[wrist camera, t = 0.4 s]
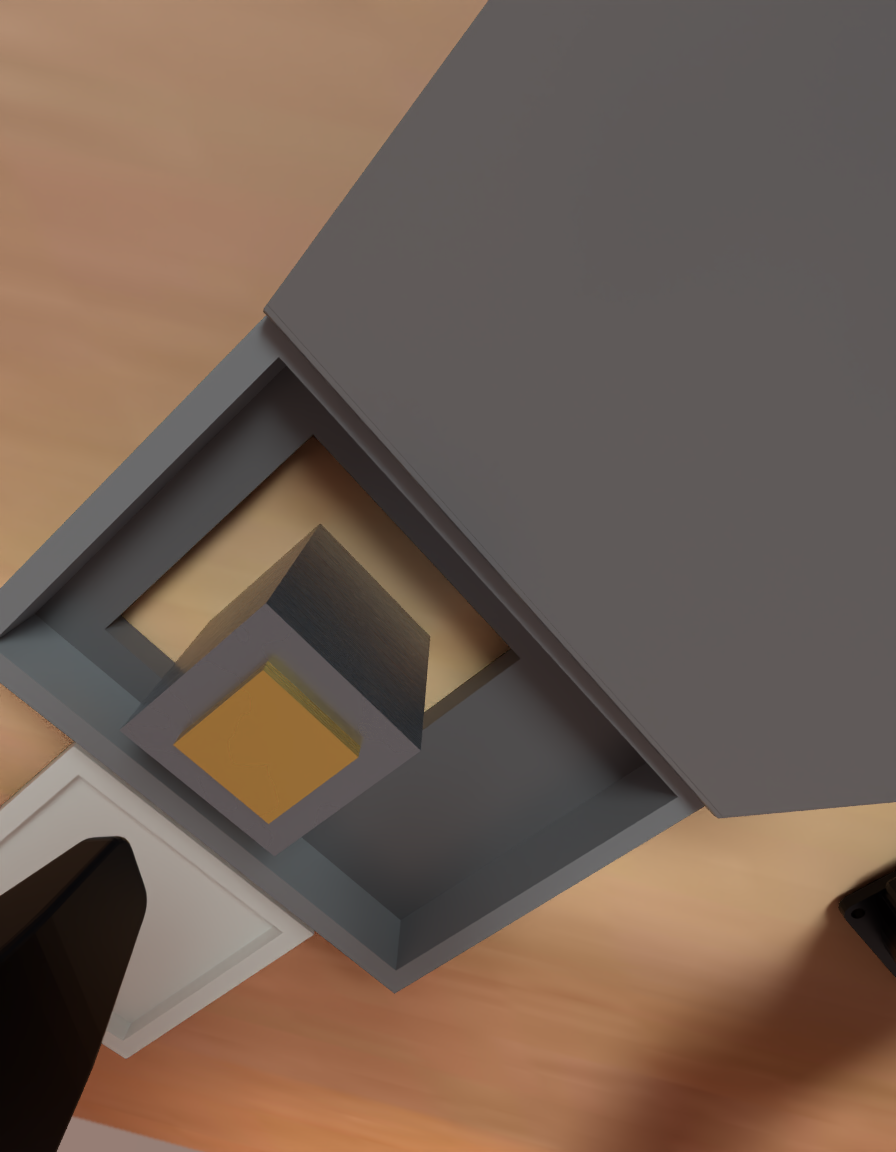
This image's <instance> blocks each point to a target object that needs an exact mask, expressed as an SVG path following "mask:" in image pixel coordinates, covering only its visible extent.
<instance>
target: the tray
mask: <svg viewBox="0 0 896 1152" xmlns="http://www.w3.org/2000/svg"><path fill="white" fill-rule="evenodd" d="M107 836H121V837H124V838H125V839H127V840H128V841H129V843H130V845H131V847H132V850H133V853H134V856H135V859H136V862H137V865H138V868H139V871H140V874H141V877H142V880H143V883H144V886H145V889H146V893H147V907H146V912H145V916H144V919H143V922H142V925H141V928H140V931H139V934H138V937H137V940H136V943H135V946H134V949H133V952H132V955H131V958H130V961H129V964H128V967H127V970H126V973H125V976H124V979H123V982H122V985H121V988H120V991H119V994H118V996H117V999H116V1002H115V1005H114V1008H113V1011H112V1014H111V1017H110V1020H109V1023H108V1026H107V1029H106V1032H105V1035H104V1038H103V1041H102V1044H103V1045H105V1046H106V1047H108V1048H110V1049H111V1050H113V1051H114V1052H116V1053H117V1054H119V1055H120V1056H122V1057H124V1058H125V1059H127V1058H129V1057H130V1056H132V1055H133V1054H135V1053H136V1052H138V1051H139V1050H141V1049H142V1048H144V1047H145V1046H147V1045H148V1044H150V1043H151V1042H153V1041H154V1040H156V1039H157V1038H159V1037H160V1036H162V1035H163V1034H165V1033H166V1032H168V1031H169V1030H171V1029H172V1028H174V1027H175V1026H177V1025H178V1024H180V1023H181V1022H183V1021H184V1020H186V1019H187V1018H189V1017H190V1016H192V1015H193V1014H195V1013H196V1012H198V1011H199V1010H201V1009H202V1008H204V1007H205V1006H207V1005H208V1004H210V1003H211V1002H213V1001H214V1000H216V999H217V998H219V997H220V996H222V995H224V994H225V993H227V992H228V991H230V990H231V989H233V988H234V987H236V986H237V985H239V984H240V983H242V982H243V981H245V980H246V979H248V978H249V977H251V976H252V975H254V974H255V973H257V972H258V971H260V970H261V969H263V968H264V967H266V966H267V965H269V964H270V963H272V962H273V961H275V960H276V959H278V958H279V957H281V956H282V955H284V954H285V953H287V952H288V951H290V950H291V949H293V948H294V947H296V946H297V945H299V944H300V943H302V942H303V941H305V940H306V939H308V938H309V937H311V936H312V935H314V931H315V930H313V929H312V928H311V927H309V926H308V925H307V924H306V923H304V922H303V921H302V920H301V919H299V918H298V917H297V916H295V915H294V914H293V913H292V912H290V911H289V910H288V909H287V908H285V907H284V906H283V905H282V904H280V903H279V902H278V901H276V900H275V899H274V898H273V897H271V896H270V895H269V894H268V893H266V892H265V891H264V890H262V889H261V888H260V887H259V886H257V885H256V884H255V883H254V882H252V881H251V880H250V879H249V878H247V877H246V876H245V875H243V874H242V873H241V872H240V871H238V870H237V869H236V868H235V867H233V866H232V865H231V864H230V863H228V862H227V861H226V860H224V859H223V858H222V857H221V856H219V855H218V854H217V853H216V852H214V851H213V850H212V849H210V848H209V847H208V846H207V845H205V844H204V843H203V842H202V841H200V840H199V839H198V838H197V837H195V836H194V835H193V834H191V833H190V832H189V831H188V830H186V829H185V828H184V827H183V826H181V825H180V824H179V823H177V822H176V821H175V820H174V819H172V818H171V817H170V816H169V815H167V814H166V813H165V812H164V811H162V810H161V809H160V808H158V807H157V806H156V805H155V804H153V803H152V802H151V801H150V800H148V799H147V798H146V797H145V796H143V795H142V794H141V793H139V792H138V791H137V790H136V789H134V788H133V787H132V786H131V785H129V784H128V783H127V782H125V781H124V780H123V779H122V778H120V777H119V776H118V775H117V774H115V773H114V772H113V771H112V770H110V769H109V768H108V767H106V766H105V765H104V764H103V763H101V762H100V761H99V760H98V759H96V758H95V757H94V756H92V755H91V754H90V753H89V752H87V751H86V750H85V749H84V748H82V747H81V746H80V745H79V744H77V743H76V742H75V741H74V742H73V743H72V744H71V745H69V746H68V747H67V748H66V749H65V750H64V751H63V752H61V753H60V754H59V755H58V756H57V757H56V758H55V759H54V760H52V761H51V762H50V763H49V764H48V765H47V766H46V767H45V768H43V769H42V770H41V771H40V772H39V773H38V774H37V775H35V776H34V777H33V778H32V779H31V780H30V781H29V782H28V783H26V784H25V785H24V786H23V787H22V788H21V789H20V790H19V791H17V792H16V793H15V794H14V795H13V796H12V797H11V798H9V799H8V800H7V801H6V802H5V803H4V804H3V805H2V806H0V895H2V894H3V893H5V892H6V891H8V890H9V889H11V888H12V887H14V886H15V885H17V884H18V883H20V882H21V881H23V880H24V879H26V878H27V877H29V876H30V875H32V874H33V873H35V872H36V871H38V870H39V869H41V868H42V867H43V866H45V865H46V864H48V863H49V862H51V861H52V860H54V859H55V858H57V857H58V856H60V855H61V854H63V853H64V852H66V851H67V850H69V849H70V848H72V847H73V846H75V845H76V844H78V843H79V842H81V841H83V840H85V839H87V838H92V837H107Z"/></svg>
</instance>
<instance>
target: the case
mask: <svg viewBox="0 0 896 1152" xmlns="http://www.w3.org/2000/svg"><path fill="white" fill-rule="evenodd" d="M263 312H264V313H265V314H266V316H265V317H264V318H263V319H262V320H261V321H260V322H259V323H258V324H257V325H256V326H255V327H254V328H253V329H252V330H251V331H250V332H249V333H248V334H247V335H246V337H245V338H244V339H243V340H242V341H241V342H240V343H239V344H238V345H237V346H236V347H235V348H234V349H233V350H232V351H231V352H230V353H229V354H228V355H227V356H226V357H225V358H224V359H223V360H222V361H221V362H220V363H219V364H218V365H217V366H216V367H215V368H214V369H213V370H212V371H211V372H210V374H209V375H208V376H207V377H206V378H205V379H204V380H203V381H202V382H201V383H200V384H199V385H198V386H197V387H196V388H195V389H194V390H193V391H192V392H191V393H190V394H189V395H188V396H187V397H186V398H185V399H184V400H183V401H182V402H181V403H180V404H179V405H178V406H177V407H176V408H175V409H174V410H173V412H172V413H171V414H170V415H169V416H168V417H167V418H166V419H165V420H164V421H163V422H162V423H161V424H160V425H159V426H158V427H157V428H156V429H155V430H154V431H153V432H152V433H151V434H150V435H149V436H148V437H147V438H146V439H145V440H144V441H143V442H142V443H141V444H140V445H139V446H138V447H137V449H136V450H135V451H134V452H133V453H132V454H131V455H130V456H129V457H128V458H127V459H126V460H125V461H124V462H123V463H122V464H121V465H120V466H119V467H118V468H117V469H116V470H115V471H114V472H113V473H112V474H111V475H110V476H109V477H108V478H107V479H106V480H105V481H104V482H103V483H102V484H101V486H100V487H99V488H98V489H97V490H96V491H95V492H94V493H93V494H92V495H91V496H90V497H89V498H88V499H87V500H86V501H85V502H84V503H83V504H82V505H81V506H80V507H79V508H78V509H77V510H76V511H75V512H74V513H73V514H72V515H71V516H70V517H69V518H68V519H67V520H66V521H65V522H64V524H63V525H62V526H61V527H60V528H59V529H58V530H57V531H56V532H55V533H54V534H53V535H52V536H51V537H50V538H49V539H48V540H47V541H46V542H45V543H44V544H43V545H42V546H41V547H40V548H39V549H38V550H37V551H36V552H35V553H34V554H33V555H32V556H31V557H30V558H29V559H28V561H27V562H26V563H25V564H24V565H23V566H22V567H21V568H20V569H19V570H18V571H17V572H16V573H15V574H14V575H13V576H12V577H11V578H10V579H9V580H8V581H7V582H6V583H5V584H4V585H3V586H2V587H1V588H0V683H1V684H2V685H4V686H5V687H6V688H8V689H9V690H10V691H11V692H13V693H14V694H15V695H16V696H18V697H19V698H20V699H21V700H23V701H24V702H25V703H27V704H28V705H29V706H30V707H32V708H33V709H34V710H35V711H37V712H38V713H39V714H40V715H42V716H43V717H44V718H46V719H47V720H48V721H49V722H51V723H52V724H53V725H54V726H56V727H57V728H58V729H60V730H61V731H62V732H63V733H65V734H66V735H67V736H68V737H70V738H71V739H72V740H73V741H75V742H76V743H77V744H79V745H80V746H81V747H82V748H84V749H85V750H86V751H87V752H89V753H90V754H91V755H92V756H94V757H95V758H96V759H98V760H99V761H100V762H101V763H103V764H104V765H105V766H106V767H108V768H109V769H110V770H112V771H113V772H114V773H115V774H117V775H118V776H119V777H120V778H122V779H123V780H124V781H125V782H127V783H128V784H129V785H131V786H132V787H133V788H134V789H136V790H137V791H138V792H139V793H141V794H142V795H143V796H145V797H146V798H147V799H148V800H150V801H151V802H152V803H153V804H155V805H156V806H157V807H158V808H160V809H161V810H162V811H164V812H165V813H166V814H167V815H169V816H170V817H171V818H172V819H174V820H175V821H176V822H177V823H179V824H180V825H181V826H183V827H184V828H185V829H186V830H188V831H189V832H190V833H191V834H193V835H194V836H195V837H197V838H198V839H199V840H200V841H202V842H203V843H204V844H205V845H207V846H208V847H209V848H210V849H212V850H213V851H214V852H216V853H217V854H218V855H219V856H221V857H222V858H223V859H224V860H226V861H227V862H228V863H230V864H231V865H232V866H233V867H235V868H236V869H237V870H238V871H240V872H241V873H242V874H243V875H245V876H246V877H247V878H249V879H250V880H251V881H252V882H254V883H255V884H256V885H257V886H259V887H260V888H261V889H262V890H264V891H265V892H266V893H268V894H269V895H270V896H271V897H273V898H274V899H275V900H276V901H278V902H279V903H280V904H282V905H283V906H284V907H285V908H287V909H288V910H289V911H290V912H292V913H293V914H294V915H295V916H297V917H298V918H299V919H301V920H302V921H303V922H304V923H306V924H307V925H308V926H309V927H311V928H312V929H313V930H315V931H316V932H317V933H318V934H320V935H321V936H322V937H323V938H325V939H326V940H327V941H328V942H330V943H331V944H332V945H334V946H335V947H336V948H337V949H339V950H340V951H341V952H342V953H344V954H345V955H346V956H347V957H349V958H350V959H351V960H353V961H354V962H355V963H356V964H358V965H359V966H360V967H361V968H363V969H364V970H365V971H367V972H368V973H369V974H370V975H372V976H373V977H374V978H375V979H377V980H378V981H379V982H380V983H382V984H383V985H384V986H386V987H387V988H388V989H389V990H391V991H392V992H393V993H394V994H395V993H396V992H398V991H400V990H401V989H403V988H405V987H406V986H408V985H410V984H411V983H413V982H415V981H416V980H418V979H419V978H421V977H423V976H424V975H426V974H428V973H429V972H431V971H433V970H434V969H436V968H438V967H439V966H441V965H443V964H444V963H446V962H448V961H449V960H451V959H453V958H454V957H456V956H458V955H459V954H461V953H462V952H464V951H466V950H467V949H469V948H471V947H472V946H474V945H476V944H477V943H479V942H481V941H482V940H484V939H486V938H487V937H489V936H491V935H492V934H494V933H496V932H497V931H499V930H501V929H502V928H504V927H505V926H507V925H509V924H510V923H512V922H514V921H515V920H517V919H519V918H520V917H522V916H524V915H525V914H527V913H529V912H530V911H532V910H534V909H535V908H537V907H539V906H540V905H542V904H544V903H545V902H547V901H548V900H550V899H552V898H553V897H555V896H557V895H558V894H560V893H562V892H563V891H565V890H567V889H568V888H570V887H572V886H573V885H575V884H577V883H578V882H580V881H582V880H583V879H585V878H587V877H588V876H590V875H591V874H593V873H595V872H596V871H598V870H600V869H601V868H603V867H605V866H606V865H608V864H610V863H611V862H613V861H615V860H616V859H618V858H620V857H621V856H623V855H625V854H626V853H628V852H630V851H631V850H633V849H634V848H636V847H638V846H639V845H641V844H643V843H644V842H646V841H648V840H649V839H651V838H653V837H654V836H656V835H658V834H659V833H661V832H663V831H664V830H666V829H668V828H669V827H671V826H673V825H674V824H676V823H677V822H679V821H681V820H682V819H684V818H686V817H687V816H689V815H691V814H692V813H694V812H696V811H697V810H699V809H701V808H702V807H704V806H706V807H707V809H708V810H709V811H710V812H711V813H712V814H713V815H714V816H716V817H717V818H728V817H738V816H749V815H760V814H771V813H782V812H793V811H804V810H814V809H825V808H836V807H847V806H858V805H869V804H880V803H890V802H896V0H489V1H488V2H487V3H486V5H485V6H484V7H483V9H482V10H481V12H480V13H479V14H478V16H477V17H476V18H475V20H474V21H473V23H472V24H471V25H470V27H469V28H468V29H467V31H466V32H465V33H464V35H463V36H462V38H461V39H460V40H459V42H458V43H457V44H456V46H455V47H454V49H453V50H452V51H451V53H450V54H449V55H448V57H447V58H446V60H445V61H444V62H443V64H442V65H441V66H440V68H439V69H438V71H437V72H436V73H435V75H434V76H433V77H432V79H431V80H430V81H429V83H428V84H427V86H426V87H425V88H424V90H423V91H422V92H421V94H420V95H419V97H418V98H417V99H416V101H415V102H414V103H413V105H412V106H411V108H410V109H409V110H408V112H407V113H406V114H405V116H404V117H403V119H402V120H401V121H400V123H399V124H398V125H397V127H396V128H395V129H394V131H393V132H392V134H391V135H390V136H389V138H388V139H387V140H386V142H385V143H384V145H383V146H382V147H381V149H380V150H379V151H378V153H377V154H376V156H375V157H374V158H373V160H372V161H371V162H370V164H369V165H368V167H367V168H366V169H365V171H364V172H363V173H362V175H361V176H360V177H359V179H358V180H357V182H356V183H355V184H354V186H353V187H352V188H351V190H350V191H349V193H348V194H347V195H346V197H345V198H344V199H343V201H342V202H341V204H340V205H339V206H338V208H337V209H336V210H335V212H334V213H333V215H332V216H331V217H330V219H329V220H328V221H327V223H326V224H325V225H324V227H323V228H322V230H321V231H320V232H319V234H318V235H317V236H316V238H315V239H314V241H313V242H312V243H311V245H310V246H309V247H308V249H307V250H306V252H305V253H304V254H303V256H302V257H301V258H300V260H299V261H298V263H297V264H296V265H295V267H294V268H293V269H292V271H291V272H290V273H289V275H288V276H287V278H286V279H285V280H284V282H283V283H282V284H281V286H280V287H279V289H278V290H277V291H276V293H275V294H274V295H273V297H272V298H271V300H270V301H269V302H268V304H267V305H266V306H265V308H264V311H263ZM313 435H314V436H315V437H316V438H317V439H318V440H319V442H320V443H321V444H322V445H323V446H324V447H325V448H326V449H327V450H328V451H329V452H330V453H331V454H332V456H333V457H334V458H335V459H336V460H337V461H338V462H339V463H340V464H341V465H342V466H343V467H344V469H345V470H346V471H347V472H348V473H349V474H350V475H351V476H352V477H353V478H354V479H355V480H356V481H357V483H358V484H359V485H360V486H361V487H362V488H363V489H364V490H365V491H366V492H367V493H368V494H369V495H370V497H371V498H372V499H373V500H374V501H375V502H376V503H377V504H378V505H379V506H380V507H381V508H382V510H383V511H384V512H385V513H386V514H387V515H388V516H389V517H390V518H391V519H392V520H393V521H394V522H395V524H396V525H397V526H398V527H399V528H400V529H401V530H402V531H403V532H404V533H405V534H406V535H407V536H408V538H409V539H410V540H411V541H412V542H413V543H414V544H415V545H416V546H417V547H418V548H419V549H420V551H421V552H422V553H423V554H424V555H425V556H426V557H427V558H428V559H429V560H430V561H431V562H432V563H433V565H434V566H435V567H436V568H437V569H438V570H439V571H440V572H441V573H442V574H443V575H444V576H445V577H446V579H447V580H448V581H449V582H450V583H451V584H452V585H453V586H454V587H455V588H456V589H457V590H458V592H459V593H460V594H461V595H462V596H463V597H464V598H465V599H466V600H467V601H468V602H469V603H470V604H471V606H472V607H473V608H474V609H475V610H476V611H477V612H478V613H479V614H480V615H481V616H482V617H483V618H484V620H485V621H486V622H487V623H488V624H489V625H490V626H491V627H492V628H493V629H494V630H495V631H496V632H497V634H498V635H499V636H500V637H501V638H502V639H503V640H504V641H505V642H506V643H507V644H508V645H509V647H510V648H511V649H510V650H508V651H507V652H506V653H504V654H503V655H502V656H500V657H499V658H498V659H496V660H495V661H494V662H492V663H491V664H490V665H488V666H487V667H485V668H484V669H483V670H481V671H480V672H479V673H477V674H476V675H475V676H473V677H472V678H471V679H469V680H468V681H467V682H465V683H464V684H463V685H461V686H460V687H458V688H457V689H456V690H454V691H453V692H452V693H450V694H449V695H448V696H446V697H445V698H444V699H442V700H441V701H440V702H438V703H437V704H435V705H434V706H433V707H431V708H430V709H429V710H427V711H426V712H425V713H424V718H423V730H422V742H421V751H420V752H418V753H417V754H416V755H414V756H413V757H411V758H410V759H409V760H407V761H406V762H405V763H403V764H402V765H400V766H399V767H398V768H396V769H395V770H393V771H392V772H391V773H389V774H388V775H387V776H385V777H384V778H382V779H381V780H380V781H378V782H377V783H375V784H374V785H373V786H371V787H370V788H369V789H367V790H366V791H364V792H363V793H362V794H360V795H359V796H357V797H356V798H355V799H353V800H352V801H351V802H349V803H348V804H346V805H345V806H344V807H342V808H341V809H339V810H338V811H337V812H335V813H334V814H333V815H331V816H330V817H328V818H327V819H326V820H324V821H323V822H322V823H320V824H319V825H317V826H316V827H315V828H313V829H312V830H310V831H309V832H308V833H306V834H305V835H304V836H302V837H301V838H299V839H298V840H297V841H295V842H294V843H292V844H291V845H290V846H288V847H287V848H286V849H284V850H283V851H281V852H280V853H279V854H277V855H276V856H273V855H272V854H271V853H270V852H268V851H267V850H266V849H265V848H263V847H262V846H261V845H260V844H258V843H257V842H256V841H255V840H254V839H252V838H251V837H250V836H249V835H247V834H246V833H245V832H244V831H242V830H241V829H240V828H239V827H238V826H236V825H235V824H234V823H233V822H231V821H230V820H229V819H228V818H226V817H225V816H224V815H223V814H222V813H220V812H219V811H218V810H217V809H215V808H214V807H213V806H212V805H210V804H209V803H208V802H207V801H206V800H204V799H203V798H202V797H201V796H199V795H198V794H197V793H196V792H194V791H193V790H192V789H191V788H190V787H188V786H187V785H186V784H185V783H183V782H182V781H181V780H180V779H179V778H177V777H176V776H175V775H174V774H172V773H171V772H170V771H169V770H167V769H166V768H165V767H164V766H163V765H161V764H160V763H159V762H158V761H156V760H155V759H154V758H153V757H151V756H150V755H149V754H148V753H147V752H145V751H144V750H143V749H142V748H140V747H139V746H138V745H137V744H135V743H134V742H133V741H132V740H131V739H129V738H128V737H127V736H126V735H124V734H123V733H122V732H121V731H119V730H120V729H121V728H122V727H123V725H124V724H125V723H126V722H127V721H128V719H129V718H130V717H131V716H132V715H133V713H134V712H135V711H136V710H137V708H138V707H139V706H140V705H141V704H142V702H143V701H144V700H145V699H146V698H147V696H148V695H149V694H150V693H151V692H152V690H153V689H154V688H155V687H156V686H157V684H158V683H159V682H160V681H161V680H162V678H163V677H164V676H165V675H166V673H167V672H168V671H169V670H170V669H171V667H172V666H173V665H174V664H175V663H174V662H173V661H172V660H171V659H170V658H169V657H167V656H166V655H165V654H164V653H163V652H162V651H161V650H159V649H158V648H157V647H156V646H155V645H154V644H152V643H151V642H150V641H149V640H148V639H147V638H146V637H144V636H143V635H142V634H141V633H140V632H139V631H138V630H136V629H135V628H134V627H133V626H132V625H131V624H130V623H128V622H127V621H126V620H125V619H124V618H123V617H122V616H120V615H121V614H122V613H124V612H125V611H126V610H127V609H128V608H129V607H130V606H131V605H132V604H133V603H134V602H135V601H136V600H137V599H139V598H140V597H141V596H142V595H143V594H144V593H145V592H146V591H147V590H148V589H149V588H150V587H151V586H152V585H153V584H155V583H156V582H157V581H158V580H159V579H160V578H161V577H162V576H163V575H164V574H165V573H166V572H167V571H168V570H170V569H171V568H172V567H173V566H174V565H175V564H176V563H177V562H178V561H179V560H180V559H181V558H182V557H183V556H184V555H186V554H187V553H188V552H189V551H190V550H191V549H192V548H193V547H194V546H195V545H196V544H197V543H198V542H199V541H200V540H202V539H203V538H204V537H205V536H206V535H207V534H208V533H209V532H210V531H211V530H212V529H213V528H214V527H215V526H217V525H218V524H219V523H220V522H221V521H222V520H223V519H224V518H225V517H226V516H227V515H228V514H229V513H230V512H231V511H233V510H234V509H235V508H236V507H237V506H238V505H239V504H240V503H241V502H242V501H243V500H244V499H245V498H246V497H248V496H249V495H250V494H251V493H252V492H253V491H254V490H255V489H256V488H257V487H258V486H259V485H260V484H261V483H262V482H264V481H265V480H266V479H267V478H268V477H269V476H270V475H271V474H272V473H273V472H274V471H275V470H276V469H277V468H278V467H280V466H281V465H282V464H283V463H284V462H285V461H286V460H287V459H288V458H289V457H290V456H291V455H292V454H293V453H295V452H296V451H297V450H298V449H299V448H300V447H301V446H302V445H303V444H304V443H305V442H306V441H307V440H308V439H309V438H311V437H312V436H313Z"/></svg>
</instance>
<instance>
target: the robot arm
mask: <svg viewBox="0 0 896 1152" xmlns="http://www.w3.org/2000/svg"><path fill="white" fill-rule="evenodd" d="M146 907H147V893H146V889H145V886H144V883H143V880H142V877H141V874H140V871H139V868H138V865H137V862H136V859H135V856H134V853H133V850H132V847H131V845H130V843H129V841H128V840H127V839H125V838H124V837H121V836H107V837H92V838H87V839H85V840H83V841H81V842H79V843H78V844H76V845H75V846H73V847H72V848H70V849H69V850H67V851H66V852H64V853H63V854H61V855H60V856H58V857H57V858H55V859H54V860H52V861H51V862H49V863H48V864H46V865H45V866H43V867H42V868H41V869H39V870H38V871H36V872H35V873H33V874H32V875H30V876H29V877H27V878H26V879H24V880H23V881H21V882H20V883H18V884H17V885H15V886H14V887H12V888H11V889H9V890H8V891H6V892H5V893H3V894H2V895H0V1152H57V1149H58V1147H59V1145H60V1142H61V1140H62V1138H63V1136H64V1133H65V1131H66V1129H67V1126H68V1124H69V1122H70V1120H71V1117H72V1115H73V1113H74V1110H75V1108H76V1106H77V1104H78V1101H79V1099H80V1097H81V1094H82V1092H83V1090H84V1087H85V1085H86V1082H87V1080H88V1078H89V1075H90V1073H91V1070H92V1068H93V1065H94V1063H95V1060H96V1057H97V1054H98V1052H99V1049H100V1046H101V1044H102V1041H103V1038H104V1035H105V1032H106V1029H107V1026H108V1023H109V1020H110V1017H111V1014H112V1011H113V1008H114V1005H115V1002H116V999H117V996H118V994H119V991H120V988H121V985H122V982H123V979H124V976H125V973H126V970H127V967H128V964H129V961H130V958H131V955H132V952H133V949H134V946H135V943H136V940H137V937H138V934H139V931H140V928H141V925H142V922H143V919H144V916H145V912H146ZM838 908H839V910H840V912H841V913H842V915H843V916H844V918H845V919H846V921H847V922H848V923H849V924H850V925H851V926H852V928H853V929H854V930H855V931H856V932H857V933H858V935H859V936H860V937H861V938H862V939H863V940H864V941H865V943H866V944H867V945H868V946H869V947H870V948H871V950H872V951H873V952H874V953H875V954H876V955H877V956H878V958H879V959H880V960H881V961H882V962H883V963H884V965H885V966H886V967H887V968H888V969H889V970H890V972H891V973H892V974H893V975H894V976H895V977H896V871H894V872H892V873H890V874H888V875H886V876H884V877H882V878H880V879H879V880H877V881H875V882H873V883H871V884H869V885H867V886H865V887H863V888H862V889H860V890H858V891H856V892H854V893H852V894H850V895H848V896H846V897H845V898H843V899H842V900H841V901H840V903H839V907H838Z"/></svg>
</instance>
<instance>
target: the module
mask: <svg viewBox="0 0 896 1152" xmlns="http://www.w3.org/2000/svg"><path fill="white" fill-rule="evenodd" d="M429 645H430V636H429V635H428V634H427V633H426V632H425V631H424V630H423V629H422V628H421V627H420V626H419V625H418V624H417V623H416V621H415V620H414V619H413V618H412V617H411V616H410V615H409V614H408V613H407V612H406V611H405V610H404V609H403V608H402V607H401V606H400V605H399V604H398V603H397V602H396V601H395V600H394V599H393V598H392V597H391V596H390V595H389V594H388V593H387V592H386V591H385V590H384V588H383V587H382V586H381V585H380V584H379V583H378V582H377V581H376V580H375V579H374V578H373V577H372V576H371V575H370V574H369V573H368V572H367V571H366V570H365V569H364V568H363V567H362V566H361V565H360V564H359V563H358V562H357V561H356V560H355V559H354V558H353V557H352V556H351V554H350V553H349V552H348V551H347V550H346V549H345V548H344V547H343V546H342V545H341V544H340V543H339V542H338V541H337V540H336V539H335V538H334V537H333V536H332V535H331V534H330V533H329V532H328V531H327V530H326V529H325V528H324V527H323V526H322V525H321V524H319V525H318V526H317V527H316V528H315V529H313V530H312V531H311V532H310V533H309V534H308V535H307V536H306V537H304V538H303V539H302V540H301V541H300V542H299V543H298V544H296V545H295V546H294V547H293V548H292V549H291V550H290V551H289V552H287V553H286V554H285V555H284V556H283V557H282V558H281V559H280V560H278V561H277V562H276V563H275V564H274V565H273V566H272V567H271V568H269V569H268V570H267V571H266V572H265V573H264V574H263V575H261V576H260V577H259V578H258V579H257V580H256V581H255V582H254V583H252V584H251V585H250V586H249V587H248V588H247V589H246V590H245V591H243V592H242V593H241V594H240V595H239V596H238V597H237V598H235V599H234V600H233V601H232V602H231V603H230V604H229V605H228V606H226V607H225V608H224V609H223V610H222V611H221V612H220V613H219V614H217V615H216V616H215V617H214V618H213V619H212V620H211V621H210V622H209V623H208V624H207V625H206V626H205V628H204V629H203V630H202V631H201V632H200V634H199V635H198V636H197V637H196V639H195V640H194V641H193V642H192V643H191V645H190V646H189V647H188V648H187V649H186V651H185V652H184V653H183V654H182V655H181V657H180V658H179V659H178V660H177V661H176V663H175V664H174V665H173V666H172V667H171V669H170V670H169V671H168V672H167V673H166V675H165V676H164V677H163V678H162V680H161V681H160V682H159V683H158V684H157V686H156V687H155V688H154V689H153V690H152V692H151V693H150V694H149V695H148V696H147V698H146V699H145V700H144V701H143V702H142V704H141V705H140V706H139V707H138V708H137V710H136V711H135V712H134V713H133V715H132V716H131V717H130V718H129V719H128V721H127V722H126V723H125V724H124V725H123V727H122V728H121V729H120V730H119V731H121V732H122V733H123V734H124V735H126V736H127V737H128V738H129V739H131V740H132V741H133V742H134V743H135V744H137V745H138V746H139V747H140V748H142V749H143V750H144V751H145V752H147V753H148V754H149V755H150V756H151V757H153V758H154V759H155V760H156V761H158V762H159V763H160V764H161V765H163V766H164V767H165V768H166V769H167V770H169V771H170V772H171V773H172V774H174V775H175V776H176V777H177V778H179V779H180V780H181V781H182V782H183V783H185V784H186V785H187V786H188V787H190V788H191V789H192V790H193V791H194V792H196V793H197V794H198V795H199V796H201V797H202V798H203V799H204V800H206V801H207V802H208V803H209V804H210V805H212V806H213V807H214V808H215V809H217V810H218V811H219V812H220V813H222V814H223V815H224V816H225V817H226V818H228V819H229V820H230V821H231V822H233V823H234V824H235V825H236V826H238V827H239V828H240V829H241V830H242V831H244V832H245V833H246V834H247V835H249V836H250V837H251V838H252V839H254V840H255V841H256V842H257V843H258V844H260V845H261V846H262V847H263V848H265V849H266V850H267V851H268V852H270V853H271V854H272V855H273V856H276V855H277V854H279V853H280V852H281V851H283V850H284V849H286V848H287V847H288V846H290V845H291V844H292V843H294V842H295V841H297V840H298V839H299V838H301V837H302V836H304V835H305V834H306V833H308V832H309V831H310V830H312V829H313V828H315V827H316V826H317V825H319V824H320V823H322V822H323V821H324V820H326V819H327V818H328V817H330V816H331V815H333V814H334V813H335V812H337V811H338V810H339V809H341V808H342V807H344V806H345V805H346V804H348V803H349V802H351V801H352V800H353V799H355V798H356V797H357V796H359V795H360V794H362V793H363V792H364V791H366V790H367V789H369V788H370V787H371V786H373V785H374V784H375V783H377V782H378V781H380V780H381V779H382V778H384V777H385V776H387V775H388V774H389V773H391V772H392V771H393V770H395V769H396V768H398V767H399V766H400V765H402V764H403V763H405V762H406V761H407V760H409V759H410V758H411V757H413V756H414V755H416V754H417V753H418V752H420V751H421V742H422V730H423V718H424V706H425V694H426V681H427V669H428V657H429Z"/></svg>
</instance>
